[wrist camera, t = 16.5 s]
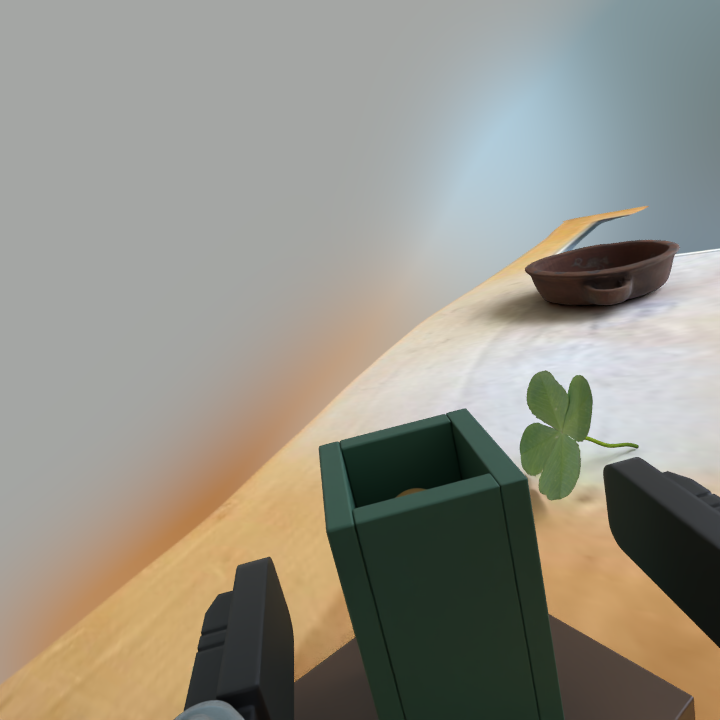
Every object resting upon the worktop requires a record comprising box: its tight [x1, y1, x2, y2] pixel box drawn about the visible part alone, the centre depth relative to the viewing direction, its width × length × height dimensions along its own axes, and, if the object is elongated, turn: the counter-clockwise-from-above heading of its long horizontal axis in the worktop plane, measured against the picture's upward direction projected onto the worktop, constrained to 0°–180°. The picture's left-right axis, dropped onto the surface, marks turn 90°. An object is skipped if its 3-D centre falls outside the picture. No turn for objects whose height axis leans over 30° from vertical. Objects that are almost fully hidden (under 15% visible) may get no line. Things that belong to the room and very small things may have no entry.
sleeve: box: [319, 409, 565, 720], centre depth 17 cm, size 5×5×9 cm
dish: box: [525, 240, 680, 305], centre depth 68 cm, size 18×22×5 cm
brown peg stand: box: [294, 488, 695, 720], centre depth 17 cm, size 10×10×9 cm
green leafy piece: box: [520, 371, 639, 500], centre depth 32 cm, size 7×8×7 cm
